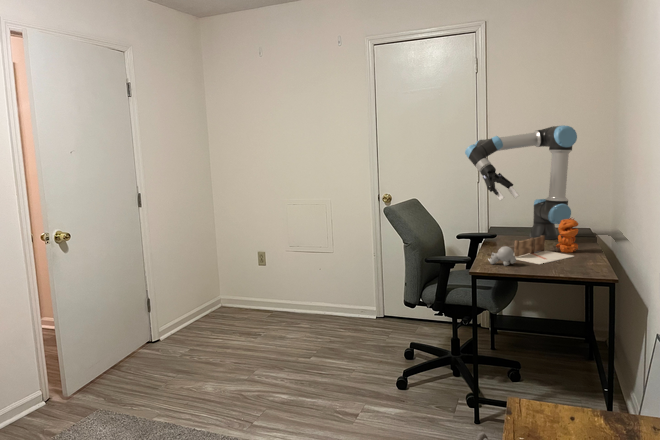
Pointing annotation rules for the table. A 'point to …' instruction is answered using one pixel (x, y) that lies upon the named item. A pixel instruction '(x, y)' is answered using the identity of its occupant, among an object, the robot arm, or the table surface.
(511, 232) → the table surface
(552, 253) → the card
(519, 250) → the fence gate
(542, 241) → the fence fixed
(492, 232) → the table surface
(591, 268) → the table surface
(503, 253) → the toy rhinoceros
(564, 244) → the toy dinosaur
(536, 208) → the robot arm
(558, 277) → the table surface
